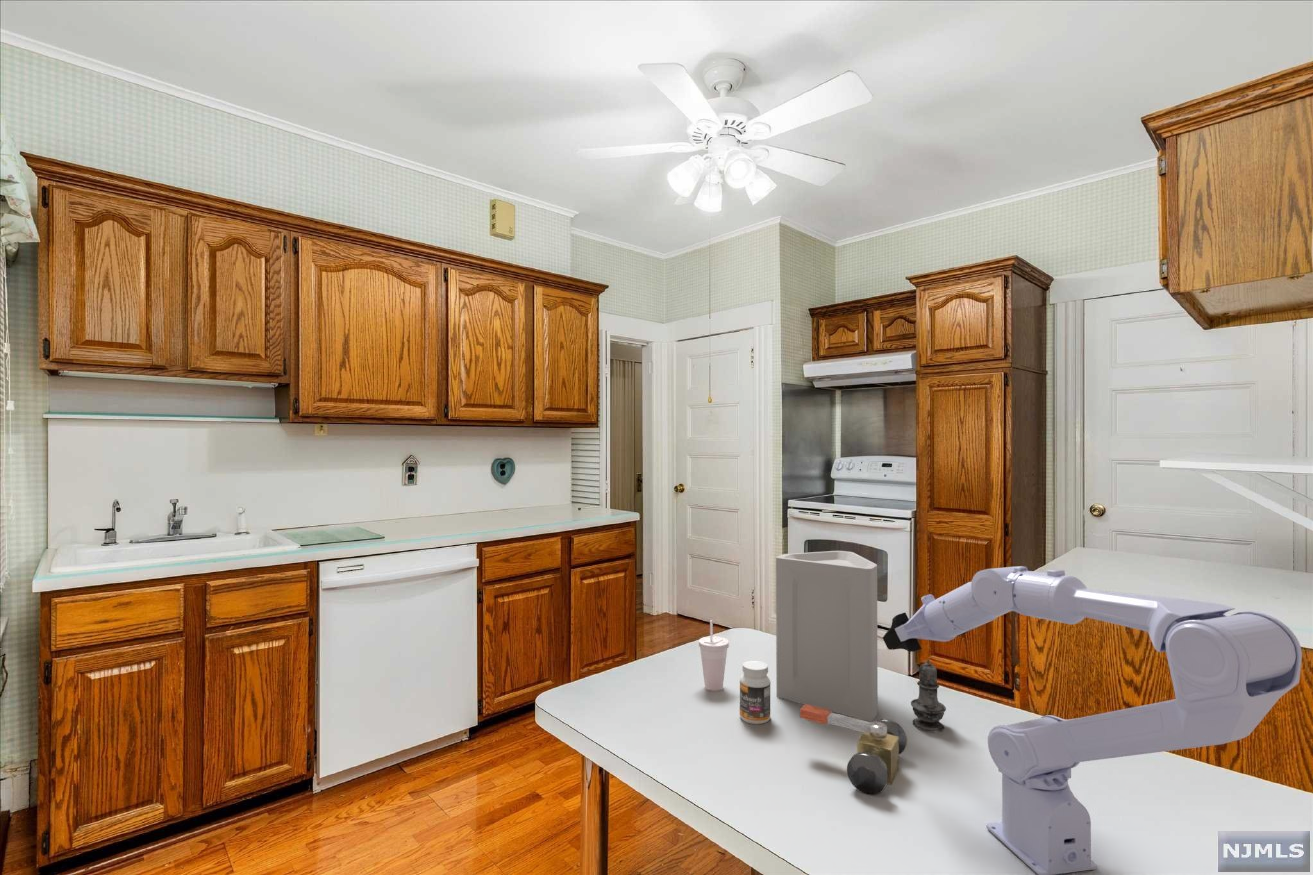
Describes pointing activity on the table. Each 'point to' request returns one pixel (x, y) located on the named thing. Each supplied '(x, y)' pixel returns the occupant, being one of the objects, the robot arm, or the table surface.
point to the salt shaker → (928, 701)
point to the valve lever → (843, 721)
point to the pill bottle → (755, 692)
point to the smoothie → (713, 659)
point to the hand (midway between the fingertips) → (904, 636)
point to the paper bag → (827, 632)
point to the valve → (877, 759)
